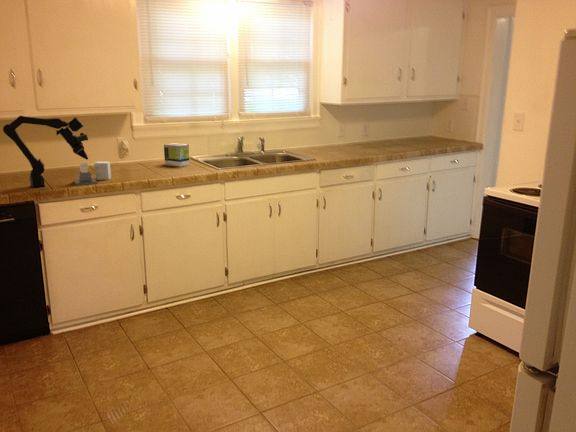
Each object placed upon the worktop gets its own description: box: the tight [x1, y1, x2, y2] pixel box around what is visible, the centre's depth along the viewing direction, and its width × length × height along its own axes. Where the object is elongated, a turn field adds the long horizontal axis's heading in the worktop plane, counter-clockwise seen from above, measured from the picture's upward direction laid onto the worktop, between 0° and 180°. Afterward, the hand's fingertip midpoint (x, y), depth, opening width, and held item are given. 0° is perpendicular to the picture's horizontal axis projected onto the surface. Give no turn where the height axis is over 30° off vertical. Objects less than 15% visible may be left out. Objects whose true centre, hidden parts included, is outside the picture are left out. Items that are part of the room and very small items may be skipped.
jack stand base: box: [73, 170, 98, 186], centre depth 321 cm, size 12×12×6 cm
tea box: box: [163, 142, 190, 168], centre depth 376 cm, size 15×10×15 cm, turn 58°
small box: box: [94, 161, 112, 181], centre depth 331 cm, size 8×6×10 cm
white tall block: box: [79, 162, 89, 173], centre depth 320 cm, size 4×4×10 cm
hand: (87, 157), depth 317 cm, fingers open, 9 cm apart
